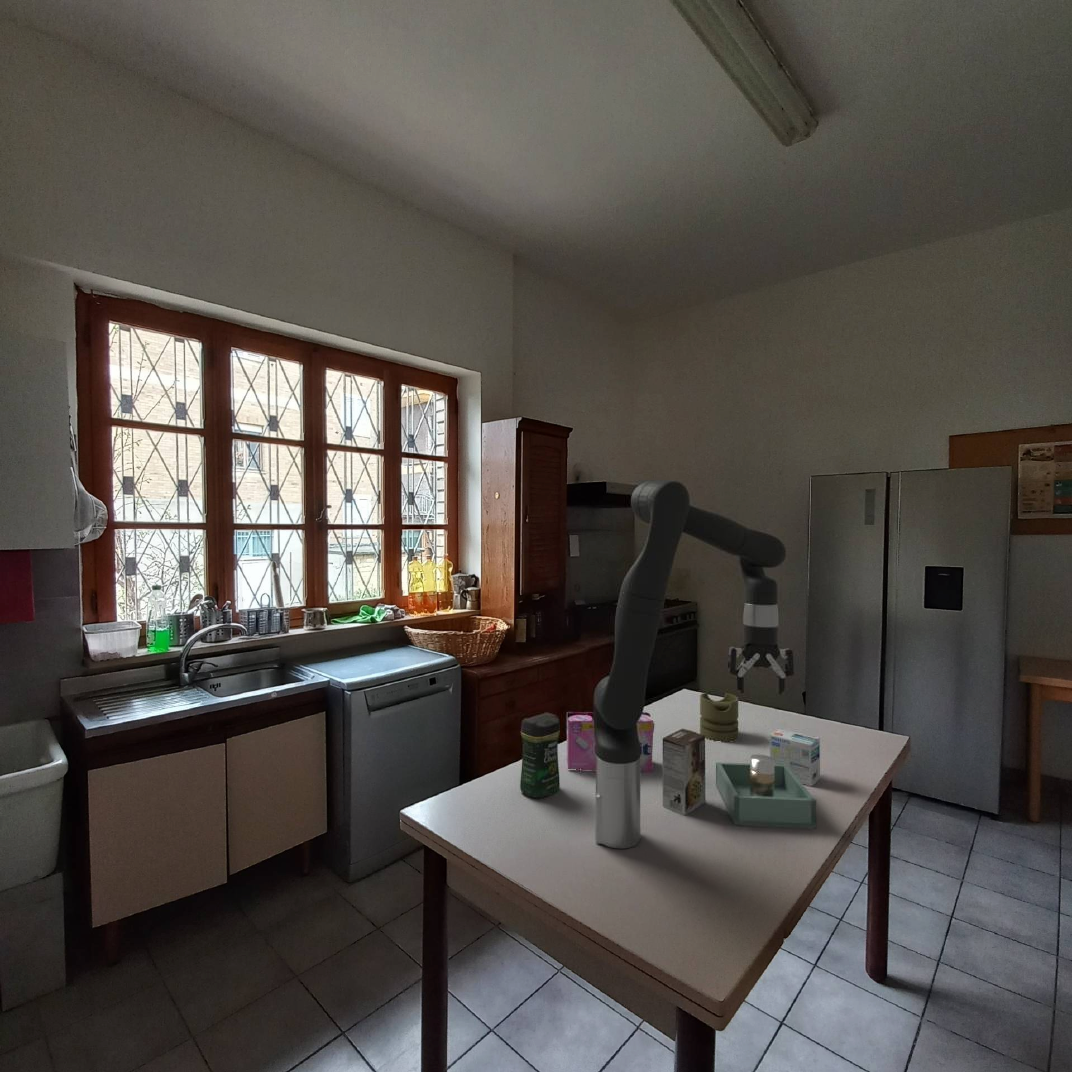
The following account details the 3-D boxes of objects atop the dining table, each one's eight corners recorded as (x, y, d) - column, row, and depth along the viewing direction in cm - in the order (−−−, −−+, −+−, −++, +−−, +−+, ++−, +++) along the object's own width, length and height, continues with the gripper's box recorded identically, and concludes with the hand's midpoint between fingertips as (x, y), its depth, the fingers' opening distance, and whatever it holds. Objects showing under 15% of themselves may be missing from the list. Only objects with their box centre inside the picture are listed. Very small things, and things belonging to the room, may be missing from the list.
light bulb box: (820, 779, 150) (821, 737, 150) (812, 787, 145) (812, 744, 145) (778, 767, 157) (778, 727, 157) (769, 775, 152) (769, 734, 152)
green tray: (734, 824, 127) (734, 797, 126) (716, 786, 145) (716, 762, 145) (815, 828, 125) (816, 800, 125) (786, 788, 144) (786, 764, 144)
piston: (741, 703, 174) (703, 701, 176) (741, 743, 175) (702, 741, 176) (734, 692, 186) (697, 691, 187) (734, 730, 186) (697, 728, 187)
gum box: (652, 760, 162) (652, 711, 162) (657, 772, 154) (657, 721, 154) (566, 759, 162) (566, 711, 162) (567, 771, 154) (567, 720, 154)
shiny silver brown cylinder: (752, 806, 133) (753, 762, 133) (747, 795, 138) (748, 753, 138) (776, 808, 132) (777, 764, 132) (770, 797, 137) (771, 755, 137)
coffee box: (682, 793, 141) (682, 727, 141) (706, 802, 137) (706, 734, 137) (661, 806, 135) (661, 737, 135) (685, 816, 130) (685, 744, 130)
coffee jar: (537, 802, 137) (537, 724, 137) (515, 791, 143) (514, 716, 142) (565, 789, 144) (565, 715, 143) (543, 779, 149) (543, 707, 149)
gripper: (733, 625, 131) (732, 696, 132) (798, 626, 130) (797, 698, 130) (725, 619, 139) (724, 687, 139) (787, 621, 137) (786, 689, 138)
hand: (759, 692), depth 135 cm, fingers open, 8 cm apart
